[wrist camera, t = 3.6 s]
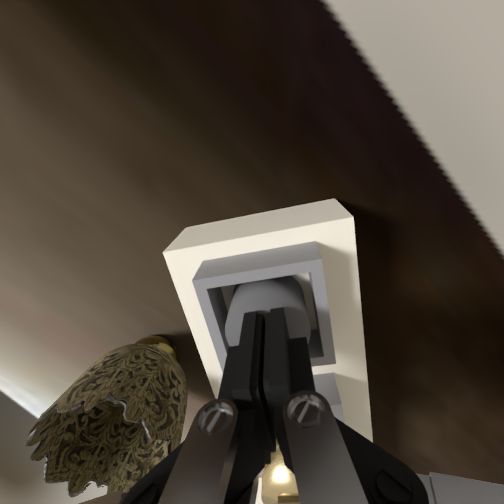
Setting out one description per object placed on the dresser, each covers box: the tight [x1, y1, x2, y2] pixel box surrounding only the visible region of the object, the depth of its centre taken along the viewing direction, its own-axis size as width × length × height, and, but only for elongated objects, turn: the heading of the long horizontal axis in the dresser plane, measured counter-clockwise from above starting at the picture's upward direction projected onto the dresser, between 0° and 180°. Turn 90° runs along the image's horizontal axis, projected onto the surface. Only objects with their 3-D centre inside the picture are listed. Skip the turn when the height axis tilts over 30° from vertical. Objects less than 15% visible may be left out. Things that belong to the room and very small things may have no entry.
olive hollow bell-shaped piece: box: [25, 336, 187, 497], centre depth 17 cm, size 8×7×8 cm
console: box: [163, 198, 373, 504], centre depth 18 cm, size 23×9×6 cm, turn 12°
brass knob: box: [261, 438, 300, 504], centre depth 14 cm, size 4×4×3 cm
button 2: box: [225, 275, 311, 346], centre depth 13 cm, size 4×4×3 cm
